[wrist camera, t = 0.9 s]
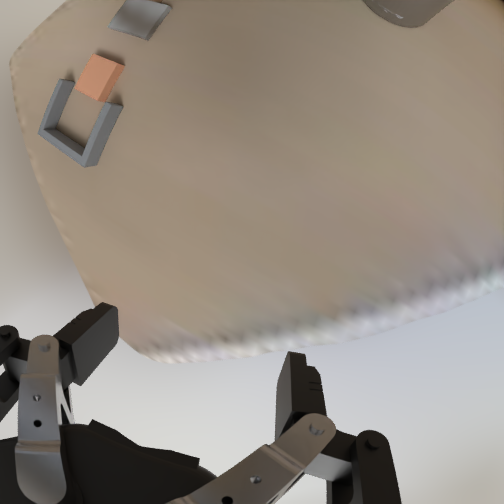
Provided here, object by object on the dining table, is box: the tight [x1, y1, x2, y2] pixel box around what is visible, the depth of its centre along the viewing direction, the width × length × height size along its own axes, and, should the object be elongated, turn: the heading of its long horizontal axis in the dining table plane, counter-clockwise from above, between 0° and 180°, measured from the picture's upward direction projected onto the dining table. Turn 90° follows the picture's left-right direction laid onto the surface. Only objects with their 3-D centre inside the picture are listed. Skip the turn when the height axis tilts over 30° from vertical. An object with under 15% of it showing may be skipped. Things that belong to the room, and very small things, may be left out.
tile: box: [74, 54, 125, 102], centre depth 25 cm, size 5×5×2 cm
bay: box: [38, 79, 123, 167], centre depth 26 cm, size 8×11×2 cm
